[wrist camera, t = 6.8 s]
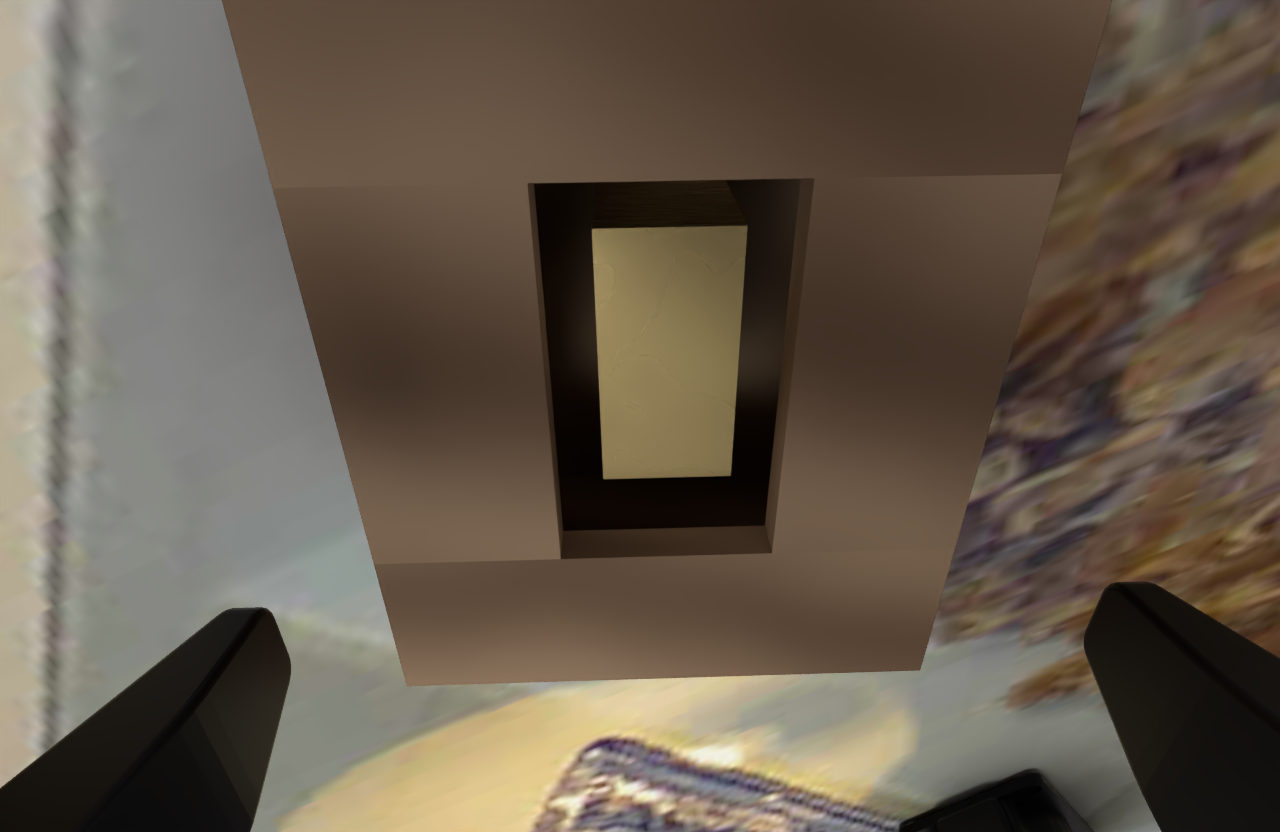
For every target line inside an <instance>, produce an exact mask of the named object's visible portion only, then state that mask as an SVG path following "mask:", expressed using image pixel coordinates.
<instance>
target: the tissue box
mask: <svg viewBox="0 0 1280 832" xmlns="http://www.w3.org/2000/svg"><path fill="white" fill-rule="evenodd" d="M1111 2H1112V0H222V3H223V6H224V10H225V14H226V17H227V21H228V25H229V29H230V32H231V36H232V40H233V43H234V47H235V51H236V55H237V58H238V62H239V66H240V69H241V73H242V77H243V80H244V84H245V88H246V92H247V95H248V99H249V103H250V106H251V110H252V114H253V118H254V121H255V125H256V129H257V132H258V136H259V140H260V144H261V147H262V151H263V155H264V158H265V162H266V166H267V169H268V173H269V177H270V181H271V184H272V188H273V192H274V195H275V199H276V203H277V207H278V210H279V214H280V218H281V221H282V225H283V229H284V233H285V236H286V240H287V244H288V247H289V251H290V255H291V258H292V262H293V266H294V270H295V273H296V277H297V281H298V284H299V288H300V292H301V296H302V299H303V303H304V307H305V310H306V314H307V318H308V321H309V325H310V329H311V333H312V336H313V340H314V344H315V347H316V351H317V355H318V359H319V362H320V366H321V370H322V373H323V377H324V381H325V385H326V388H327V392H328V396H329V399H330V403H331V407H332V410H333V414H334V418H335V422H336V425H337V429H338V433H339V436H340V440H341V444H342V448H343V451H344V455H345V459H346V462H347V466H348V470H349V474H350V477H351V481H352V485H353V488H354V492H355V496H356V499H357V503H358V507H359V511H360V514H361V518H362V522H363V525H364V529H365V533H366V537H367V540H368V544H369V548H370V551H371V555H372V559H373V562H374V566H375V570H376V574H377V577H378V581H379V585H380V588H381V592H382V596H383V600H384V603H385V607H386V611H387V614H388V618H389V622H390V626H391V629H392V633H393V637H394V640H395V644H396V648H397V651H398V655H399V659H400V663H401V666H402V670H403V674H404V677H405V681H406V685H407V686H426V685H459V684H492V683H524V682H557V681H589V680H622V679H654V678H687V677H720V676H752V675H785V674H817V673H850V672H882V671H915V670H920V669H921V665H922V662H923V658H924V655H925V651H926V648H927V644H928V641H929V637H930V634H931V630H932V627H933V623H934V620H935V616H936V613H937V609H938V606H939V602H940V599H941V595H942V592H943V588H944V585H945V581H946V578H947V574H948V571H949V568H950V564H951V561H952V557H953V554H954V550H955V547H956V543H957V540H958V536H959V533H960V529H961V526H962V522H963V519H964V515H965V512H966V508H967V505H968V501H969V498H970V494H971V491H972V487H973V484H974V480H975V477H976V473H977V470H978V466H979V463H980V459H981V456H982V452H983V449H984V445H985V442H986V438H987V435H988V431H989V428H990V424H991V421H992V417H993V414H994V410H995V407H996V403H997V400H998V396H999V393H1000V389H1001V386H1002V382H1003V379H1004V376H1005V372H1006V369H1007V365H1008V362H1009V358H1010V355H1011V351H1012V348H1013V344H1014V341H1015V337H1016V334H1017V330H1018V327H1019V323H1020V320H1021V316H1022V313H1023V309H1024V306H1025V302H1026V299H1027V295H1028V292H1029V288H1030V285H1031V281H1032V278H1033V274H1034V271H1035V267H1036V264H1037V260H1038V257H1039V253H1040V250H1041V246H1042V243H1043V239H1044V236H1045V232H1046V229H1047V225H1048V222H1049V218H1050V215H1051V211H1052V208H1053V204H1054V201H1055V197H1056V194H1057V190H1058V187H1059V184H1060V180H1061V177H1062V173H1063V170H1064V166H1065V163H1066V159H1067V156H1068V152H1069V149H1070V145H1071V142H1072V138H1073V135H1074V131H1075V128H1076V124H1077V121H1078V117H1079V114H1080V110H1081V107H1082V103H1083V100H1084V96H1085V93H1086V89H1087V86H1088V82H1089V79H1090V75H1091V72H1092V68H1093V65H1094V61H1095V58H1096V54H1097V51H1098V47H1099V44H1100V40H1101V37H1102V33H1103V30H1104V26H1105V23H1106V19H1107V16H1108V12H1109V9H1110V5H1111ZM691 180H726V182H727V184H728V186H729V188H730V190H731V192H732V194H733V196H734V198H735V200H736V203H737V205H738V207H739V209H740V211H741V213H742V215H743V217H744V219H745V221H746V223H747V241H746V256H745V271H744V286H743V301H742V316H741V331H740V346H739V361H738V376H737V391H736V405H735V420H734V435H733V450H732V465H731V476H706V477H669V478H631V479H603V461H602V440H601V418H600V396H599V375H598V353H597V332H596V310H595V289H594V267H593V246H592V219H593V206H594V194H595V182H634V181H691Z"/></svg>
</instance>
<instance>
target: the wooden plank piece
mask: <svg viewBox="0 0 1280 832" xmlns="http://www.w3.org/2000/svg"><path fill="white" fill-rule="evenodd" d="M746 241H747V223H746V221H745V219H744V217H743V215H742V213H741V211H740V209H739V207H738V205H737V203H736V200H735V198H734V196H733V194H732V192H731V190H730V188H729V186H728V184H727V182H726V180H691V181H634V182H595V194H594V206H593V219H592V246H593V267H594V289H595V310H596V332H597V353H598V375H599V396H600V418H601V440H602V461H603V479H631V478H669V477H706V476H731V465H732V450H733V435H734V420H735V405H736V391H737V376H738V361H739V346H740V331H741V316H742V301H743V286H744V271H745V256H746Z"/></svg>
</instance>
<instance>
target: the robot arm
mask: <svg viewBox="0 0 1280 832" xmlns="http://www.w3.org/2000/svg"><path fill="white" fill-rule="evenodd" d="M1084 649H1085V654H1086V657H1087V660H1088V662H1089V665H1090V667H1091V670H1092V672H1093V675H1094V677H1095V680H1096V682H1097V685H1098V687H1099V690H1100V692H1101V695H1102V697H1103V699H1104V702H1105V704H1106V707H1107V709H1108V712H1109V714H1110V717H1111V719H1112V722H1113V724H1114V727H1115V729H1116V732H1117V734H1118V737H1119V739H1120V742H1121V744H1122V747H1123V749H1124V752H1125V754H1126V757H1127V759H1128V762H1129V764H1130V766H1131V769H1132V771H1133V773H1134V776H1135V778H1136V780H1137V783H1138V785H1139V787H1140V789H1141V792H1142V794H1143V796H1144V798H1145V800H1146V802H1147V804H1148V806H1149V808H1150V810H1151V812H1152V814H1153V816H1154V818H1155V820H1156V822H1157V824H1158V826H1159V828H1160V830H1161V831H1162V832H1280V658H1278V657H1277V656H1275V655H1273V654H1272V653H1270V652H1268V651H1267V650H1265V649H1263V648H1262V647H1260V646H1258V645H1257V644H1255V643H1253V642H1252V641H1250V640H1248V639H1247V638H1245V637H1243V636H1242V635H1240V634H1238V633H1237V632H1235V631H1233V630H1232V629H1230V628H1228V627H1227V626H1225V625H1223V624H1222V623H1220V622H1218V621H1217V620H1215V619H1213V618H1211V617H1210V616H1208V615H1206V614H1205V613H1203V612H1201V611H1200V610H1198V609H1196V608H1195V607H1193V606H1191V605H1190V604H1188V603H1186V602H1185V601H1183V600H1181V599H1180V598H1178V597H1176V596H1175V595H1173V594H1171V593H1170V592H1168V591H1166V590H1165V589H1163V588H1161V587H1159V586H1158V585H1156V584H1153V583H1150V582H1116V583H1112V584H1110V585H1109V586H1107V587H1106V588H1105V590H1104V591H1103V593H1102V595H1101V597H1100V600H1099V602H1098V604H1097V606H1096V609H1095V611H1094V613H1093V615H1092V618H1091V620H1090V622H1089V624H1088V626H1087V629H1086V631H1085V634H1084ZM290 676H291V662H290V657H289V654H288V652H287V649H286V646H285V644H284V641H283V639H282V636H281V633H280V631H279V628H278V626H277V623H276V621H275V618H274V616H273V614H272V613H271V612H270V611H269V610H268V609H267V608H262V607H256V608H232V609H228V610H226V611H224V612H222V613H221V614H219V615H218V616H216V617H215V618H214V619H213V620H211V621H210V622H209V623H208V624H206V625H205V626H204V627H203V628H201V629H200V630H199V631H198V632H196V633H195V634H194V635H192V636H191V637H190V638H189V639H187V640H186V641H185V642H184V643H182V644H181V645H180V646H179V647H177V648H176V649H175V650H174V651H172V652H171V653H170V654H169V655H167V656H166V657H165V658H164V659H162V660H161V661H160V662H158V663H157V664H156V665H155V666H153V667H152V668H151V669H150V670H148V671H147V672H146V673H145V674H143V675H142V676H141V677H140V678H138V679H137V680H136V681H135V682H133V683H132V684H131V685H130V686H128V687H127V688H126V689H124V690H123V691H122V692H121V693H119V694H118V695H117V696H116V697H114V698H113V699H112V700H111V701H109V702H108V703H107V704H106V705H104V706H103V707H102V708H101V709H99V710H98V711H97V712H96V713H94V714H93V715H92V716H90V717H89V718H88V719H87V720H85V721H84V722H83V723H82V724H80V725H79V726H78V727H77V728H75V729H74V730H73V731H72V732H70V733H69V734H68V735H67V736H65V737H64V738H63V739H62V740H60V741H59V742H58V743H56V744H55V745H54V746H53V747H51V748H50V749H49V750H48V751H46V752H45V753H44V754H43V755H41V756H40V757H39V758H38V759H36V760H35V761H34V762H33V763H31V764H30V765H29V766H28V767H26V768H25V769H24V770H22V771H21V772H20V773H19V774H17V775H16V776H15V777H14V778H12V779H11V780H10V781H9V782H7V783H6V784H5V785H4V786H2V787H1V788H0V832H250V831H251V828H252V825H253V822H254V818H255V815H256V811H257V808H258V804H259V801H260V797H261V793H262V789H263V785H264V781H265V777H266V773H267V769H268V765H269V761H270V757H271V753H272V749H273V745H274V741H275V738H276V734H277V730H278V726H279V722H280V718H281V714H282V710H283V706H284V702H285V698H286V694H287V690H288V686H289V682H290ZM899 832H1094V831H1093V830H1092V829H1091V828H1090V826H1089V825H1088V824H1087V823H1086V822H1085V821H1084V820H1083V819H1082V818H1081V817H1080V816H1079V815H1078V814H1077V812H1076V811H1075V810H1074V809H1073V808H1072V807H1071V806H1070V805H1069V804H1068V803H1067V802H1066V801H1065V800H1064V798H1063V797H1062V796H1061V795H1060V794H1059V793H1058V792H1057V791H1056V790H1055V789H1054V788H1053V787H1052V786H1051V785H1050V783H1049V782H1048V781H1047V780H1046V779H1045V778H1044V777H1043V776H1042V775H1040V774H1037V773H1032V774H1027V775H1025V776H1022V777H1020V778H1017V779H1015V780H1013V781H1010V782H1008V783H1006V784H1003V785H1001V786H999V787H996V788H994V789H992V790H989V791H987V792H984V793H982V794H980V795H977V796H975V797H973V798H970V799H968V800H966V801H963V802H961V803H959V804H956V805H954V806H951V807H949V808H947V809H944V810H942V811H940V812H937V813H935V814H933V815H930V816H928V817H926V818H923V819H921V820H918V821H916V822H914V823H911V824H909V825H907V826H904V827H903V828H901V829H900V831H899Z"/></svg>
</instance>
